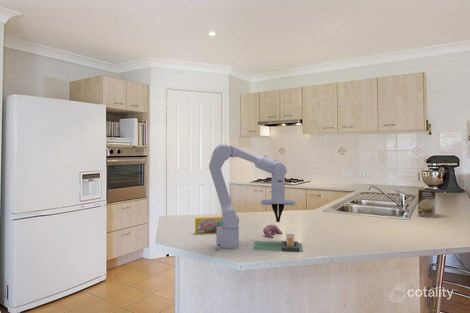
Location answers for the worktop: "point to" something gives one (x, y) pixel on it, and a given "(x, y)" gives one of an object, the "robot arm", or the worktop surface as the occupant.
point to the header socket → (290, 249)
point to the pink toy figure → (271, 228)
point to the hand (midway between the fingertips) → (278, 221)
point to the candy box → (207, 224)
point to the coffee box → (426, 203)
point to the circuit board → (271, 246)
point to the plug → (289, 238)
